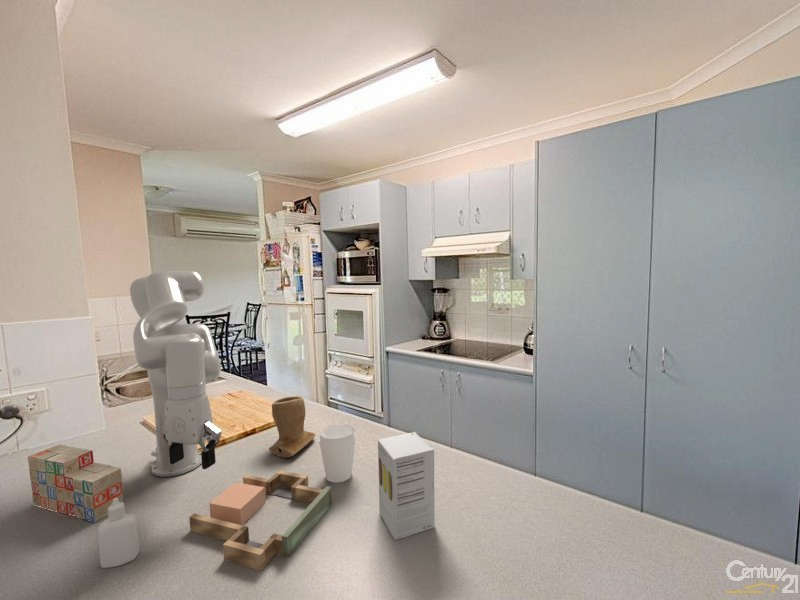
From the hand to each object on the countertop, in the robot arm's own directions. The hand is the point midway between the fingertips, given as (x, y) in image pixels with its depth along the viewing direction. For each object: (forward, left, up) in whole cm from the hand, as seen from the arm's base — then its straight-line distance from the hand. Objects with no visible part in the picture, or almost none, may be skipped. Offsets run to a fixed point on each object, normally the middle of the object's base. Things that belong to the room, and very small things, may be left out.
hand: (192, 463), depth 84 cm
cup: (+27, +20, -10) cm, 35 cm away
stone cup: (+5, +29, -10) cm, 31 cm away
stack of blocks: (-26, -9, -10) cm, 29 cm away
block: (+12, 0, -10) cm, 16 cm away
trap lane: (+19, 0, -9) cm, 21 cm away
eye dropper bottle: (+1, -18, -10) cm, 20 cm away
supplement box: (+49, +8, -10) cm, 51 cm away
